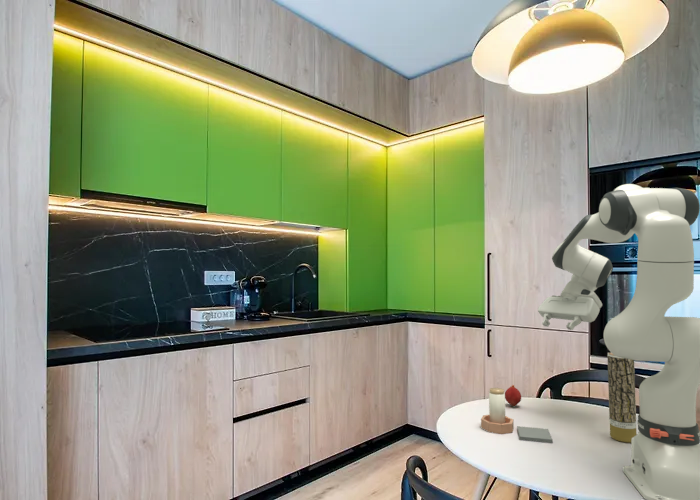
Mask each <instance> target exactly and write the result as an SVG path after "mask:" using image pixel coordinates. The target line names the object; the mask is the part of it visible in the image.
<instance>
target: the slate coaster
mask: <svg viewBox="0 0 700 500" xmlns="http://www.w3.org/2000/svg"><path fill="white" fill-rule="evenodd" d="M516 428H517V434H518V437H519V441H528V442H538V443H548V444H553V443H554V440H553V437H552V435H551V433H550V430H549V428H539V427H532V426H531V427H530V426H516Z"/></svg>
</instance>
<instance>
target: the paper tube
mask: <svg viewBox="0 0 700 500" xmlns="http://www.w3.org/2000/svg"><path fill="white" fill-rule="evenodd" d="M606 356H607V381H608V382H607V384H608V385H607V386H608V411H609V412H608V414H609V416H608V417H609V435H610V438H612V439H613V440H615V441H618V442H621V443H630V444H631V440H632V438H633V437H634V436H636V435H637V434H638V433H637V405H636V382H635V381H636V379H635V378H636V377H635V360H631V359H626V358H622V357H618V356H615V355H613V354H612V353H611V352H607V355H606Z"/></svg>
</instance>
